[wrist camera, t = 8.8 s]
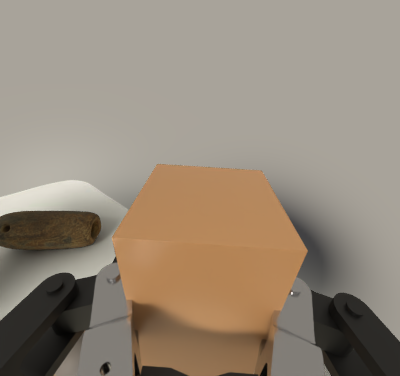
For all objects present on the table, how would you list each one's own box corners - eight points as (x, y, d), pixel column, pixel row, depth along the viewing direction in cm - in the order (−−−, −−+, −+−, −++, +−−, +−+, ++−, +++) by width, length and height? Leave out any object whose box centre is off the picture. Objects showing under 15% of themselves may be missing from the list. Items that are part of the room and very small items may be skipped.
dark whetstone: (-4, 263, 32) (-26, 232, 28) (21, 233, 38) (6, 205, 34) (96, 253, 34) (87, 224, 31) (105, 227, 40) (98, 200, 37)
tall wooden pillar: (144, 382, 10) (111, 237, 5) (164, 288, 15) (157, 163, 10) (245, 390, 10) (307, 251, 5) (234, 293, 15) (261, 170, 10)
